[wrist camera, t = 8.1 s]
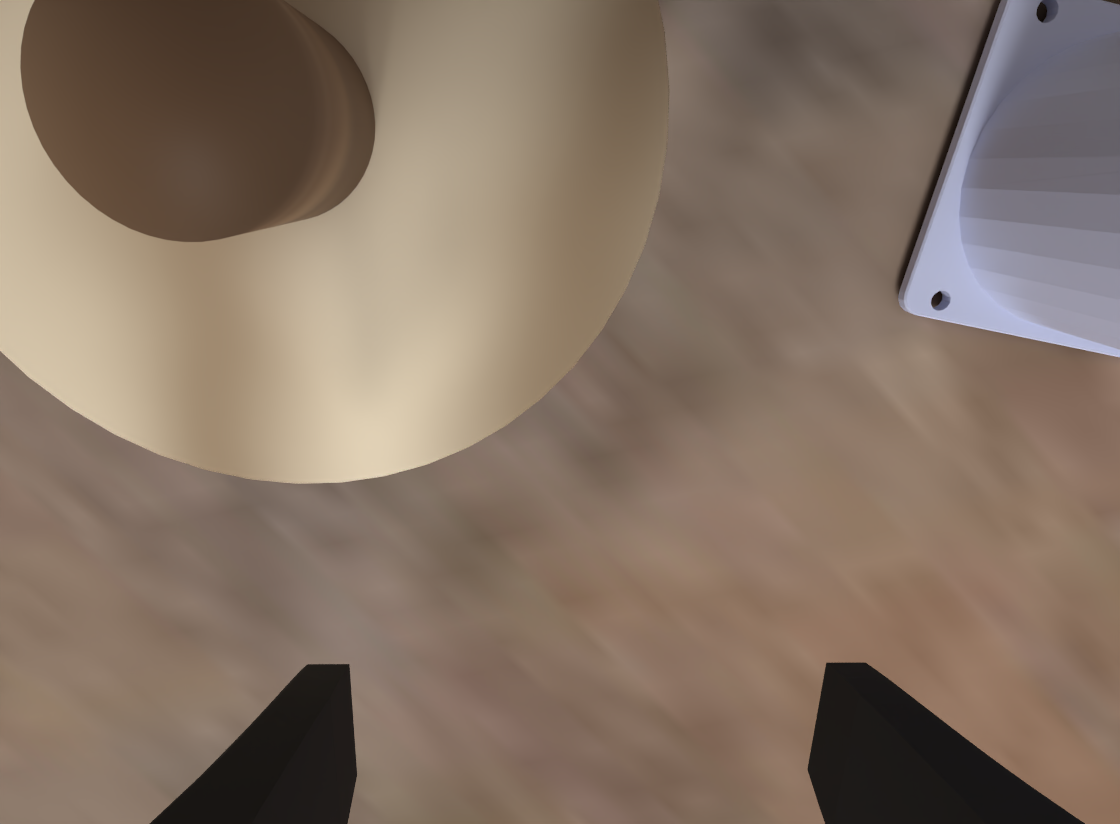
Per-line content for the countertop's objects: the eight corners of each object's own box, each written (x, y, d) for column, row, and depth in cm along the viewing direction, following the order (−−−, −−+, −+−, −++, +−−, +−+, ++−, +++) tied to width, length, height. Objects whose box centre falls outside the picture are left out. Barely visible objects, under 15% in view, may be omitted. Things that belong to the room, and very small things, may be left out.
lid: (746, -234, 12) (879, -474, 8) (581, 513, 16) (603, 644, 12) (-161, -478, 11) (-668, -956, 6) (-85, 411, 15) (-351, 516, 10)
